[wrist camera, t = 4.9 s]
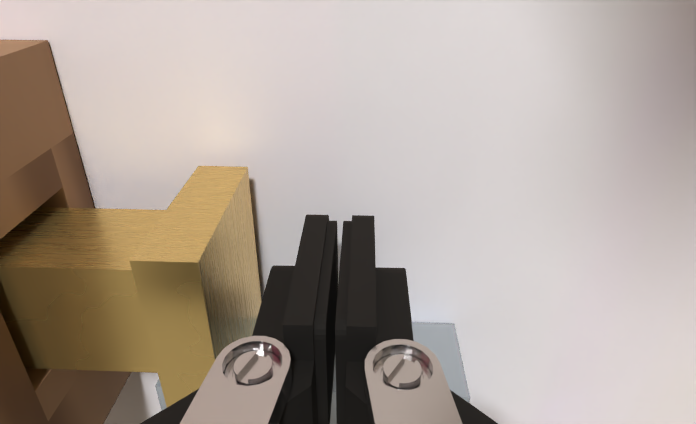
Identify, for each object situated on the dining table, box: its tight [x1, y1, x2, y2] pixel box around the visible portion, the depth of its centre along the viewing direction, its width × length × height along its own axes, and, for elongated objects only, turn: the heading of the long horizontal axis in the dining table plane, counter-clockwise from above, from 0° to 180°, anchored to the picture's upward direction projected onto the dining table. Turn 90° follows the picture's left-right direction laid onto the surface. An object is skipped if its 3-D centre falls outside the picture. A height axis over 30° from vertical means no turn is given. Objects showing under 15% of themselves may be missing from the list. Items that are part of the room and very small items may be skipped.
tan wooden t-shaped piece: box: [0, 166, 261, 407], centre depth 12 cm, size 7×4×4 cm, turn 90°
